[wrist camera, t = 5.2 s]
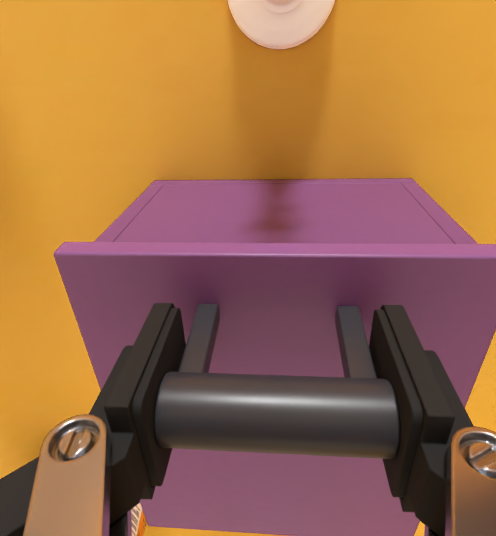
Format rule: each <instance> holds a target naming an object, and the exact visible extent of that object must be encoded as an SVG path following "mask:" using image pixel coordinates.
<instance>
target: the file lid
mask: <svg viewBox="0 0 496 536" xmlns="http://www.w3.org/2000/svg"><path fill="white" fill-rule="evenodd" d="M54 257H55V260H56V263H57V266H58V269H59V272H60V274H61V277H62V280H63V283H64V286H65V289H66V292H67V294H68V297H69V300H70V303H71V306H72V309H73V312H74V315H75V317H76V320H77V323H78V326H79V329H80V332H81V335H82V337H83V340H84V343H85V346H86V349H87V352H88V355H89V358H90V360H91V363H92V366H93V369H94V372H95V375H96V378H97V380H98V383H99V386H100V389H101V390H102V388H103V386H104V384H105V382H106V380H107V378H108V377H109V375H110V373H111V371H112V369H113V367H114V365H115V363H116V361H117V359H118V357H119V355H120V353H121V352H122V350H123V348H124V347H125V346H127V345H134V343H135V341H136V339H137V337H138V335H139V333H140V331H141V329H142V327H143V325H144V322H145V320H146V318H147V316H148V314H149V312H150V310H151V308H152V306H153V305H154V303H173V304H174V306H175V308H180V310H181V315H182V322H183V329H184V335H185V342H186V347H185V350H184V354H183V357H182V361H181V364H180V367H179V371H178V372H168V373H166V374H165V376H164V377H163V379H162V381H161V384H160V387H159V391H158V395H157V400H156V406H155V419H154V425H155V436H156V441H157V443H158V445H159V446H160V447H162V448H172V452H171V455H170V459H169V463H168V467H167V470H166V474H165V478H164V481H163V484H162V486H156V487H155V491H154V494H153V498H152V500H150V499H140V504H141V507H142V509H143V512H144V515H145V518H146V521H147V524H148V526H155V527H170V528H184V529H199V530H214V531H229V532H244V533H259V534H274V535H289V536H414V534H415V532H416V529H417V527H418V524H419V522H420V520H419V519H418V518H416V516H415V513H414V512H403V511H402V507H401V503H400V499H399V497H393V496H392V494H391V491H390V487H389V483H388V479H387V475H386V471H385V467H384V463H383V459H393V458H395V456H396V455H397V452H398V447H399V440H400V420H399V411H398V405H397V400H396V396H395V392H394V390H393V387H392V385H391V383H390V382H389V381H388V380H386V379H377V377H376V373H375V369H374V365H373V361H372V357H371V353H370V349H369V343H370V335H371V328H372V321H373V314H374V311H375V310H380V308H381V306H382V305H403V307H404V309H405V311H406V313H407V315H408V317H409V319H410V321H411V323H412V326H413V328H414V330H415V332H416V334H417V336H418V338H419V340H420V343H421V345H422V347H423V349H424V350H433V351H434V352H436V354H437V355H438V357H439V359H440V361H441V363H442V365H443V367H444V369H445V371H446V373H447V375H448V377H449V379H450V381H451V383H452V385H453V387H454V389H455V391H456V393H457V395H458V396H459V398H460V400H461V402H462V404H463V406H464V408H465V406H466V403H467V401H468V398H469V396H470V393H471V391H472V388H473V386H474V383H475V381H476V378H477V376H478V373H479V371H480V368H481V366H482V363H483V361H484V358H485V355H486V353H487V350H488V348H489V345H490V343H491V340H492V338H493V335H494V333H495V330H496V244H351V243H171V242H64V243H63V244H62V245H61V246H60V247H59V248H58V249H57V250H56V251H55V252H54Z"/></svg>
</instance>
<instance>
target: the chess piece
mask: <svg viewBox="0 0 496 536" xmlns="http://www.w3.org/2000/svg"><path fill="white" fill-rule="evenodd" d="M227 1H228V5H229V8H230V11H231V14H232V16H233V18H234V20H235V22H236V24H237V25H238V27H239V28H240V29H241V31H242V32H243V33H244V34H245V35H246V36H247V37H248V38H250V39H251V40H252V41H254V42H255V43H257V44H259V45H261V46H264V47H267V48H271V49H288V48H292V47H295V46H298V45H300V44H302V43H304V42H306V41H307V40H309V39H310V38H311V37H312V36H314V35H315V34H316V33H317V32H318V31H319V30H320V28H321V27H322V26H323V24H324V23H325V22H326V20H327V18H328V17H329V15H330V13H331V10H332V8H333V5H334V2H335V0H227Z"/></svg>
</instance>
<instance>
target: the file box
mask: <svg viewBox="0 0 496 536" xmlns="http://www.w3.org/2000/svg"><path fill="white" fill-rule="evenodd" d="M94 242H171V243H351V244H478V243H477V242H476V241H475V240H474V239H473V238H472V237H471V236H470V235H469V234H468V233H467V232H466V231H465V230H464V229H463V228H462V227H461V226H460V225H459V224H458V223H457V222H456V221H455V220H454V219H452V218H451V217H450V216H449V215H448V214H447V213H446V212H445V211H444V210H443V209H442V208H441V207H440V206H439V205H438V204H437V203H436V202H435V201H434V200H433V199H432V198H431V197H430V196H429V195H428V194H427V193H426V192H425V191H424V190H423V189H422V188H421V187H420V186H419V185H418V184H417V183H416V182H415V181H414V180H413V179H412V178H403V179H275V180H155V181H153V182H152V183H151V185H150V186H149V187H148V188H147V189H146V190H145V191H144V192H143V193H142V194H141V195H140V196H139V197H138V198H137V199H136V200H135V201H134V202H133V203H132V204H131V205H130V206H129V207H128V208H127V209H126V210H125V211H124V212H123V213H122V214H121V215H120V216H119V217H118V218H117V219H116V220H115V221H114V222H113V223H112V224H111V225H110V226H109V227H108V228H107V229H106V230H105V231H104V232H103V233H102V234H101V235H100V236H99V237H98V238H97V239H96V240H95V241H94Z"/></svg>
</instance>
